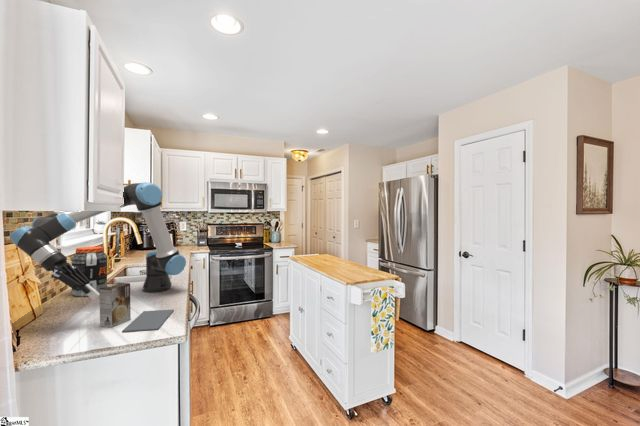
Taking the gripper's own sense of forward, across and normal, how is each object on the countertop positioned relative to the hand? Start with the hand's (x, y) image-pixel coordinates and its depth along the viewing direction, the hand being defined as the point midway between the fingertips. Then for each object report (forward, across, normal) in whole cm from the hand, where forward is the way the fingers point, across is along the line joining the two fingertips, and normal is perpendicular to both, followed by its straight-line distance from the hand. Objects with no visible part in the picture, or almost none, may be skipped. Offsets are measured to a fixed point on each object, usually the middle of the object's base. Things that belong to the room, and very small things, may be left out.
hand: (96, 297), depth 120 cm
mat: (+22, 0, +6) cm, 23 cm away
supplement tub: (-11, -49, -28) cm, 58 cm away
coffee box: (+13, 0, -4) cm, 13 cm away
